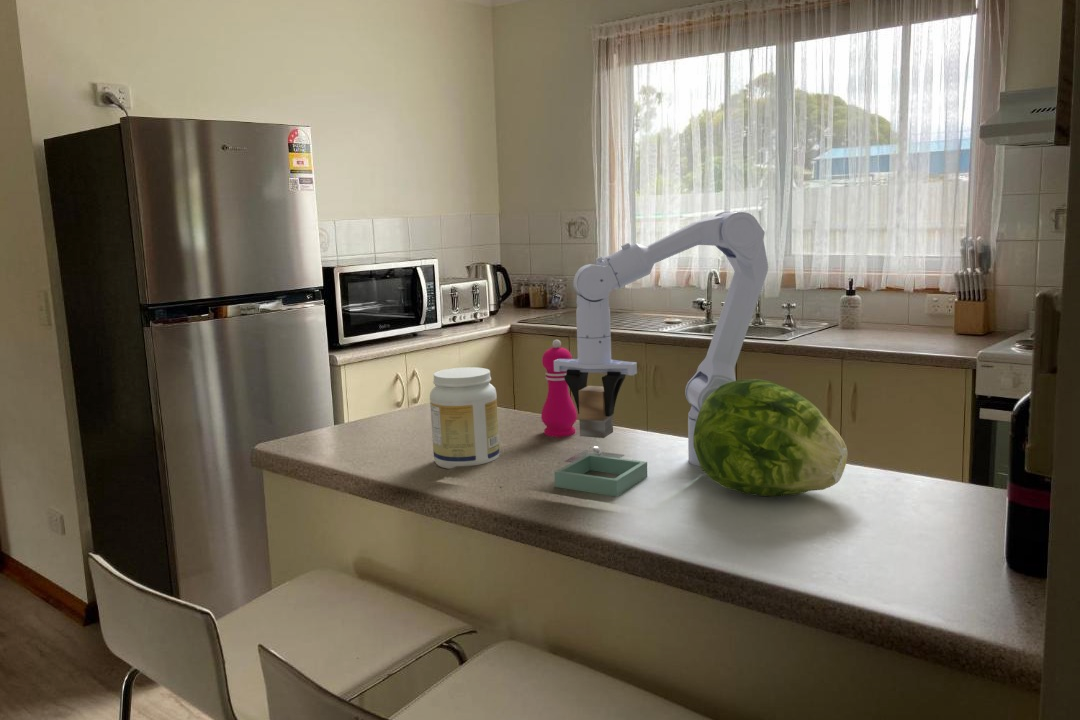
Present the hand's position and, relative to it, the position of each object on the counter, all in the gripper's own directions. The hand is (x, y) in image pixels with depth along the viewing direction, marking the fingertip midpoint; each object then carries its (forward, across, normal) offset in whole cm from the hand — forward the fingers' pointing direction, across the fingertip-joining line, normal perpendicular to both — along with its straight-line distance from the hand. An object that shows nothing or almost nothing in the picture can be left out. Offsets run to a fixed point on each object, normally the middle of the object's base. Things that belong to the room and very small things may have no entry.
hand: (595, 414), depth 147 cm
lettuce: (+11, -30, +2) cm, 32 cm away
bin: (+10, -4, +7) cm, 13 cm away
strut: (+4, 0, 0) cm, 4 cm away
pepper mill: (+11, +16, -19) cm, 27 cm away
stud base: (+10, +2, -5) cm, 12 cm away
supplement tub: (+11, +25, +2) cm, 27 cm away
